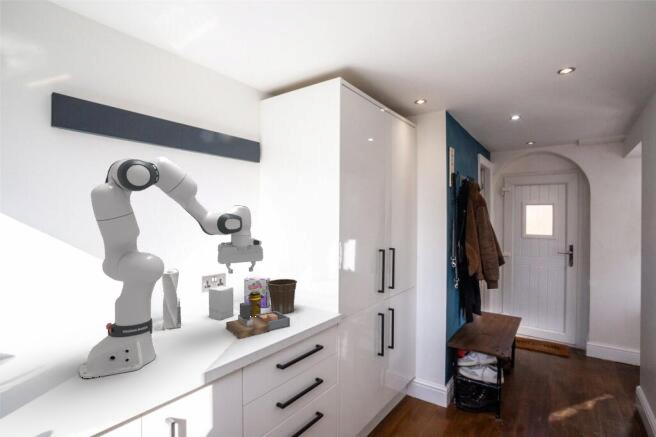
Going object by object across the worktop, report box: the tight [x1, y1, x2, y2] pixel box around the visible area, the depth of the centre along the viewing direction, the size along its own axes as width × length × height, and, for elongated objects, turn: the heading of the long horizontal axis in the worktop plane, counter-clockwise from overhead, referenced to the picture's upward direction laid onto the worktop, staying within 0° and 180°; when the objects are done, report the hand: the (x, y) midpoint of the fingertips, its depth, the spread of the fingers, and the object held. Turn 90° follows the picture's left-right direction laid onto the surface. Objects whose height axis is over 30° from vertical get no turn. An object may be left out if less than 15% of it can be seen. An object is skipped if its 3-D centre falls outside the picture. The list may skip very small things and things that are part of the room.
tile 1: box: [259, 314, 267, 323], centre depth 155 cm, size 5×5×3 cm
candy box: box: [243, 276, 271, 309], centre depth 185 cm, size 14×6×16 cm, turn 80°
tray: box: [256, 311, 291, 332], centre depth 153 cm, size 11×14×4 cm
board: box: [225, 316, 270, 340], centre depth 146 cm, size 14×16×3 cm
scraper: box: [237, 302, 253, 328], centre depth 146 cm, size 3×11×9 cm, turn 37°
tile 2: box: [267, 313, 278, 324], centre depth 150 cm, size 5×5×3 cm
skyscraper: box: [161, 267, 182, 330], centre depth 150 cm, size 8×8×28 cm
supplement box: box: [208, 285, 234, 321], centre depth 166 cm, size 9×9×15 cm
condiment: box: [249, 292, 262, 317], centre depth 168 cm, size 7×8×12 cm
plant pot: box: [267, 278, 298, 315], centre depth 176 cm, size 16×16×16 cm
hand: (241, 272), depth 144 cm, fingers open, 8 cm apart
